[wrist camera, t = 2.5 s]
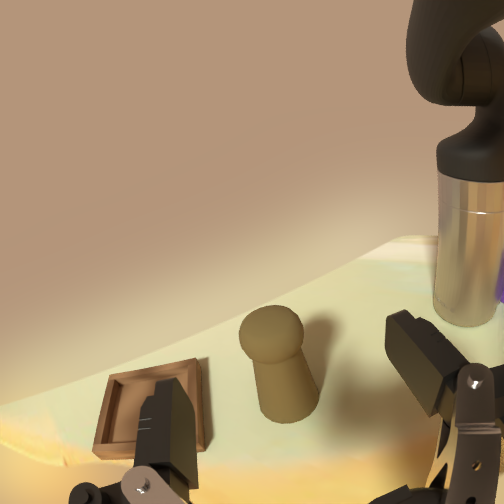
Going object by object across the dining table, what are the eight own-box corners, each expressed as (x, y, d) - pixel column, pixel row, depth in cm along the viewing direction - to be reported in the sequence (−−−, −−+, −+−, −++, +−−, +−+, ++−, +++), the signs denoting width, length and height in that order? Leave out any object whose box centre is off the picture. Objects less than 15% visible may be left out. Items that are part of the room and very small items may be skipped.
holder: (200, 367, 35) (195, 357, 34) (205, 451, 24) (198, 442, 23) (116, 383, 34) (109, 374, 34) (101, 459, 23) (91, 451, 23)
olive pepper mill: (251, 390, 30) (221, 311, 25) (303, 368, 31) (287, 286, 27) (271, 432, 25) (240, 356, 20) (329, 406, 26) (320, 323, 21)
